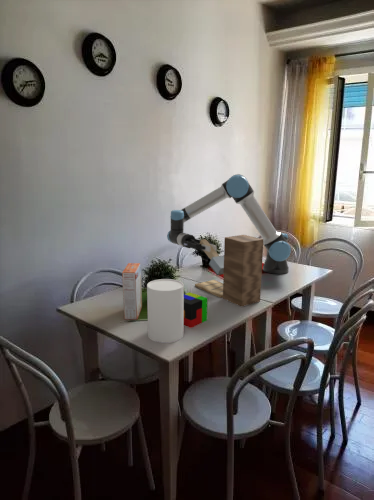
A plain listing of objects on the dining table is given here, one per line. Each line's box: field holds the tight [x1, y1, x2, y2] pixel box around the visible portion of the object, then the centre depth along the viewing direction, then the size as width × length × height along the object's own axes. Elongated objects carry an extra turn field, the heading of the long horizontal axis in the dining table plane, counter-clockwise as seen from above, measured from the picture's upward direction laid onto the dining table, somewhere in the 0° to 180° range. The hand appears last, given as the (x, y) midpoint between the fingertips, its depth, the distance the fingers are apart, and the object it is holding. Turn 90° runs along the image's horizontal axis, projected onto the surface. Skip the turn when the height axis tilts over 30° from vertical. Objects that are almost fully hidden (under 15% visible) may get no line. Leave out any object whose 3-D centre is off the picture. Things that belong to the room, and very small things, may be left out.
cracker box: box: [121, 262, 143, 321], centre depth 161 cm, size 14×6×21 cm, turn 178°
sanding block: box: [199, 238, 224, 276], centre depth 193 cm, size 8×22×5 cm
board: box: [194, 279, 223, 299], centre depth 194 cm, size 13×21×1 cm, turn 35°
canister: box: [146, 278, 185, 344], centre depth 142 cm, size 14×14×20 cm
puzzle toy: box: [184, 292, 208, 329], centre depth 155 cm, size 10×10×10 cm
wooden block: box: [222, 234, 264, 308], centre depth 177 cm, size 12×13×30 cm
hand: (212, 248), depth 192 cm, fingers closed on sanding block, 3 cm apart
